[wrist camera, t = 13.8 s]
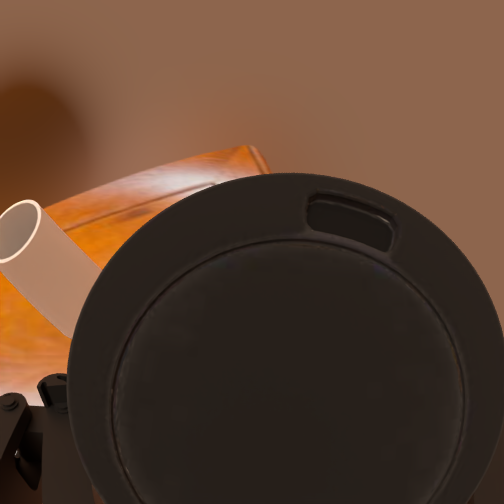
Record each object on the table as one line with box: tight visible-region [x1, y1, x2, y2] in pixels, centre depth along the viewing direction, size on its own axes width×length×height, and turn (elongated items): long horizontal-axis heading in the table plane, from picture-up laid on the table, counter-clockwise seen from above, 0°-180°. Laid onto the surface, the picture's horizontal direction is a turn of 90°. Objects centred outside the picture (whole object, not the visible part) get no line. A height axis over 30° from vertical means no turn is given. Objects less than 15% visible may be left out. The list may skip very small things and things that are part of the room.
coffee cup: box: [66, 173, 504, 504], centre depth 10 cm, size 9×9×15 cm
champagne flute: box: [0, 200, 102, 339], centre depth 25 cm, size 7×7×24 cm
